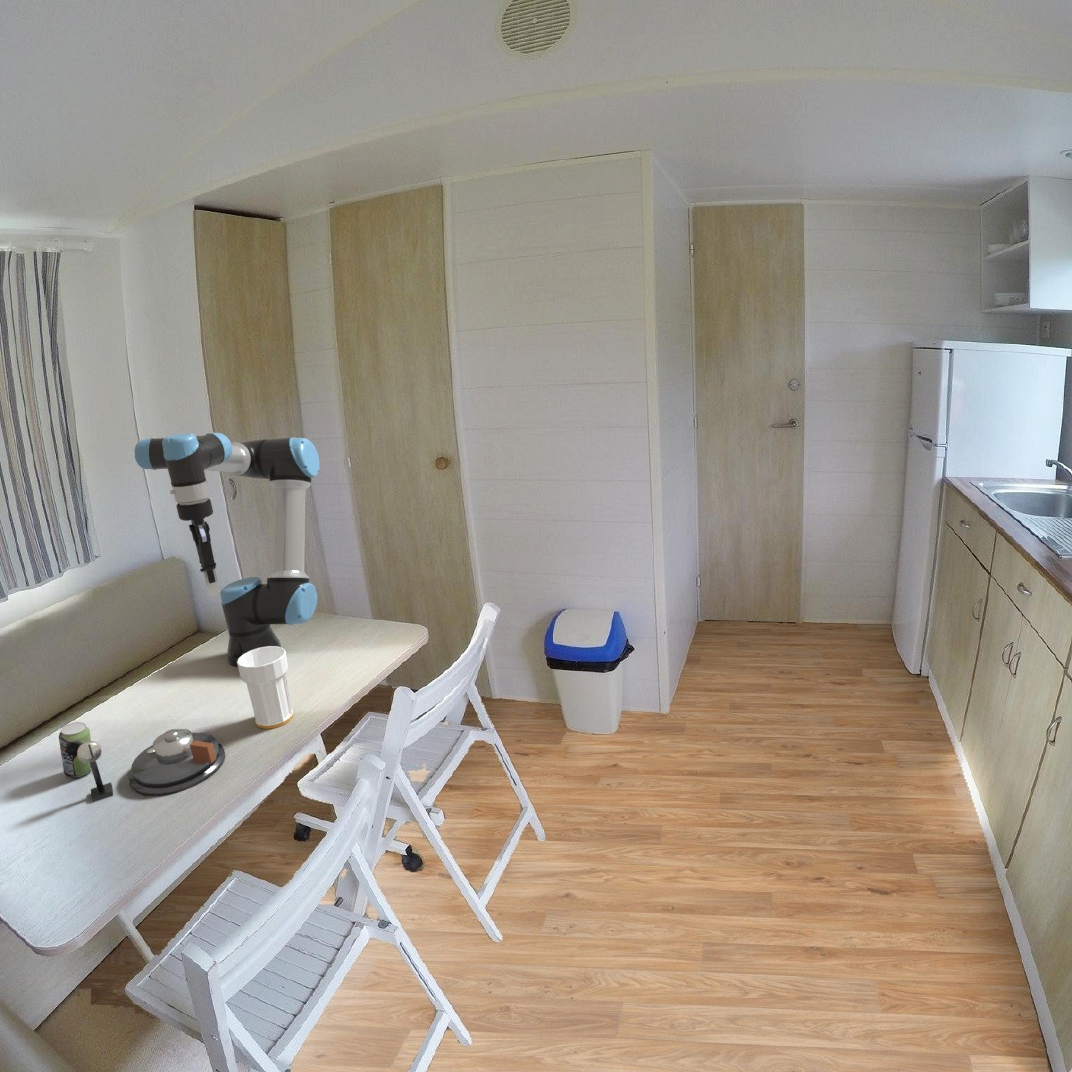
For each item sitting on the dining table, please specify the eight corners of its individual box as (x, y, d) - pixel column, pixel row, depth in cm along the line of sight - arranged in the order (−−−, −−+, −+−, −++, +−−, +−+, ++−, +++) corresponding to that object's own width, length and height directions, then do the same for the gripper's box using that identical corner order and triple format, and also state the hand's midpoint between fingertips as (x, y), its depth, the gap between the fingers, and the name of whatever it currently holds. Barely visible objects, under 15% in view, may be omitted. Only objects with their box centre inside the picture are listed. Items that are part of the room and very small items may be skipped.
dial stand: (90, 793, 168) (74, 740, 164) (113, 785, 170) (97, 733, 166) (91, 802, 164) (74, 749, 160) (114, 794, 166) (98, 742, 162)
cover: (176, 741, 179) (171, 721, 177) (203, 746, 176) (197, 725, 174) (149, 761, 172) (143, 740, 170) (175, 766, 169) (170, 745, 167)
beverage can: (73, 766, 179) (59, 721, 175) (105, 762, 179) (92, 717, 176) (59, 782, 173) (45, 736, 169) (93, 778, 173) (79, 732, 170)
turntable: (176, 736, 185) (170, 714, 183) (243, 746, 178) (238, 723, 176) (115, 781, 169) (107, 757, 167) (185, 794, 162) (179, 769, 160)
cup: (241, 728, 189) (226, 664, 184) (271, 704, 199) (258, 643, 193) (278, 734, 185) (264, 669, 179) (307, 710, 195) (295, 648, 189)
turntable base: (127, 763, 178) (126, 759, 178) (217, 733, 187) (216, 730, 187) (133, 807, 161) (132, 803, 161) (232, 772, 171) (231, 768, 170)
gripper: (172, 498, 184) (194, 590, 191) (179, 509, 173) (202, 605, 180) (205, 492, 187) (225, 582, 194) (214, 502, 176) (235, 597, 184)
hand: (214, 593), depth 187 cm, fingers closed
